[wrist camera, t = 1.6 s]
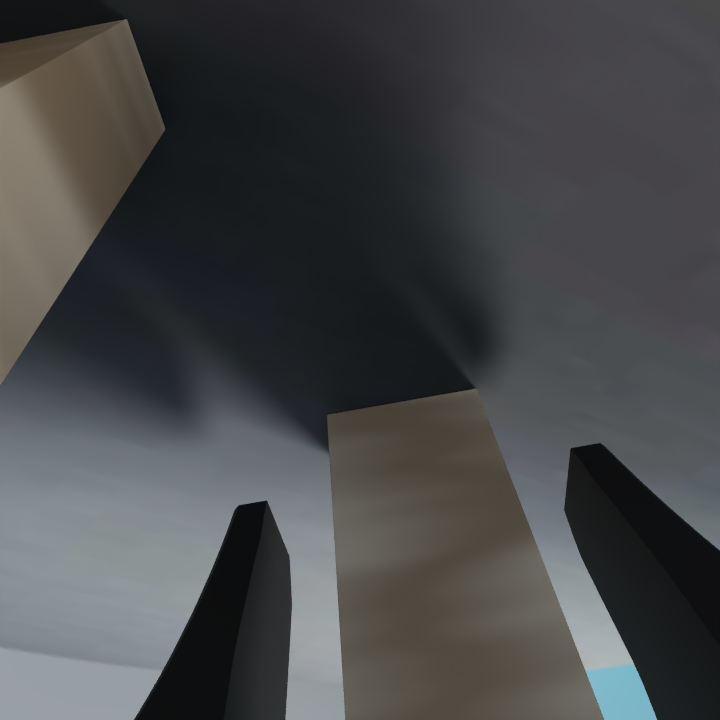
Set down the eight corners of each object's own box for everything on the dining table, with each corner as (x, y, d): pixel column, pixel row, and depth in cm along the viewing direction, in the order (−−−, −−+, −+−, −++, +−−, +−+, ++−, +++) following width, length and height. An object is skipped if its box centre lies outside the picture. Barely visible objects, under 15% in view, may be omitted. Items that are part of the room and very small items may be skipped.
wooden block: (476, 388, 14) (653, 847, 7) (478, 435, 15) (634, 877, 8) (326, 414, 14) (355, 894, 7) (338, 459, 15) (374, 917, 8)
